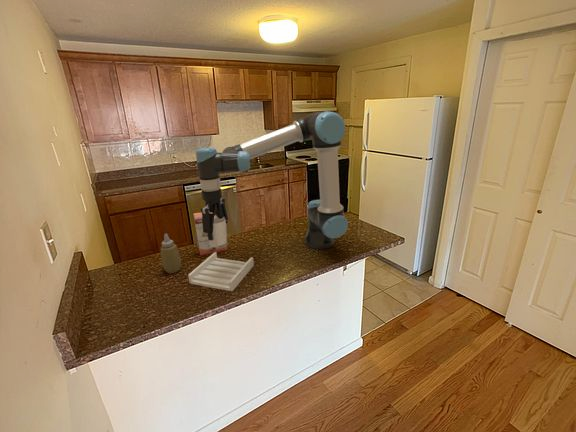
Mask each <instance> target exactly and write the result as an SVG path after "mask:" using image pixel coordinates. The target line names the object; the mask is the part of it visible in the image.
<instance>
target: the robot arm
mask: <svg viewBox="0 0 576 432" xmlns="http://www.w3.org/2000/svg"><path fill="white" fill-rule="evenodd" d="M345 134H346V124H345V120H344V119H343V117H342V116H341V115H340V114H339V113H337V112H334V111H331V110H330V111H328V110H327V111H315V112H312V113H309V114H307V115H305V116H303V117H301V118H299V119H295V120H294V121H293V122H292V124H289V125H287V126H285V127H284V126H283V127H281V128H279V129H276V130H273V131H271V132H267V133H265V134H262V135H260V136H258V137H254V138H252V139H250V140H246V141H244V142H241V143H239V144H235V145H234V146H226V147H225V148H224V149H223V150H222V152H218V151H217V148H216V147H202V148H198V149H197V150H196V151H195V157H196V158H195V159H196V166H197V171H198V178H199V183H200V189H201V191H200V192H201V198H202V200H203V201H204V202H205V205H204V207H201V208H200V212H201V213H202V222H203V233H207V234H208V240H209V245H210V247H217V246H216V239H215V232H213V224H214V216H215V215H217V217H218V218H219V219H222V218H223V217H224V218H225V220H226V224H228V220H229V217H228V211H227V208H226V200H225V198H223V192H222V189H221V188H222V184H221V177H220V174H221V173H223V174H224V173H231V172H232V173H234V172H244V171H249V170H250V168H251V161H250V160H252V159H254V158H257V157H260V156H263V155H265V154H267V153H271V152H273V151H275V150H278V149H280V148H281V149H282V148H284V147H286V146H290V145H291V144H295V143H296V142H299V143H303V142H306V141H312V148H313V149H314V151H316V155H317V156H316V157H317V158H316V159H317V170H318V172H317V173H318V188H319V199H313V200H311V201H309V202H308V203H307V225H308V226H307V227H308V228H307V231H306V235H305V238H304V243H305V246H307V247H308V248H311V249H314V250H326V249H329V248H331V247H333V246H334V245H335V239H338V238H340V237H341V236H343V235H344V234H345V233H346V232H347V230H348V227H349V221H348V219H347V217H346V216H345V214H344V209H345V208H344V205H342V204H341V202H340V201H341V199H340V177H339V174H340V173H339V171H340V170H339V153H338V152H339V148H341V146H342V139H343V137H344V136H345ZM209 212H210V213H209ZM226 237H227V238H228V235H227V236H226Z"/></svg>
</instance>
